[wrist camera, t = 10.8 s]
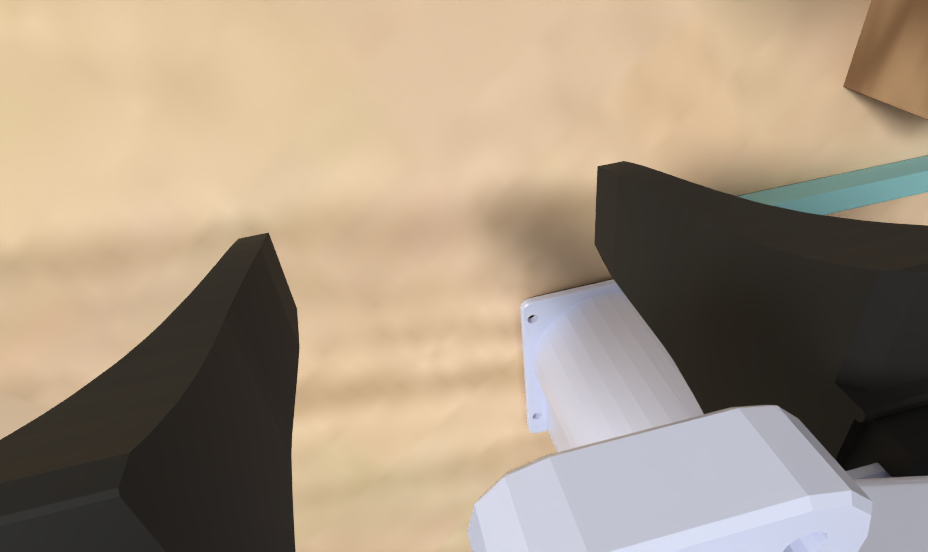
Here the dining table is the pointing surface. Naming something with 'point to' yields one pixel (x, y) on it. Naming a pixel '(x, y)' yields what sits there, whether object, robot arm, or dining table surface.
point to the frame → (850, 188)
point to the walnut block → (893, 55)
